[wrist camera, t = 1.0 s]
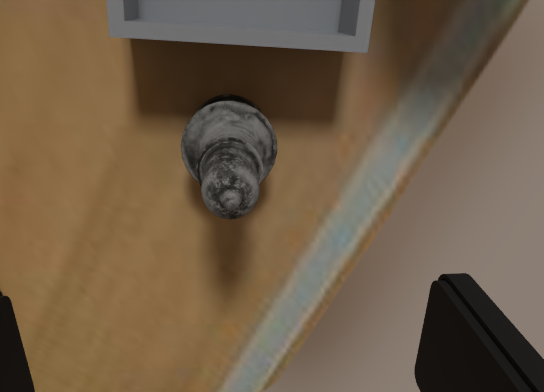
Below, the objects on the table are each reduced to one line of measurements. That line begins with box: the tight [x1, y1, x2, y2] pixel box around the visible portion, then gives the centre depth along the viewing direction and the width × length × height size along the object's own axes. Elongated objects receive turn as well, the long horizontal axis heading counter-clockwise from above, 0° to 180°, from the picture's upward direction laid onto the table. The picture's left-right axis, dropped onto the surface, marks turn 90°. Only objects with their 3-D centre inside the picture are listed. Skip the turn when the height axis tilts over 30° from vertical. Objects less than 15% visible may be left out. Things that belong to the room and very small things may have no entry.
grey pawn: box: [181, 95, 277, 219], centre depth 25 cm, size 6×6×12 cm
